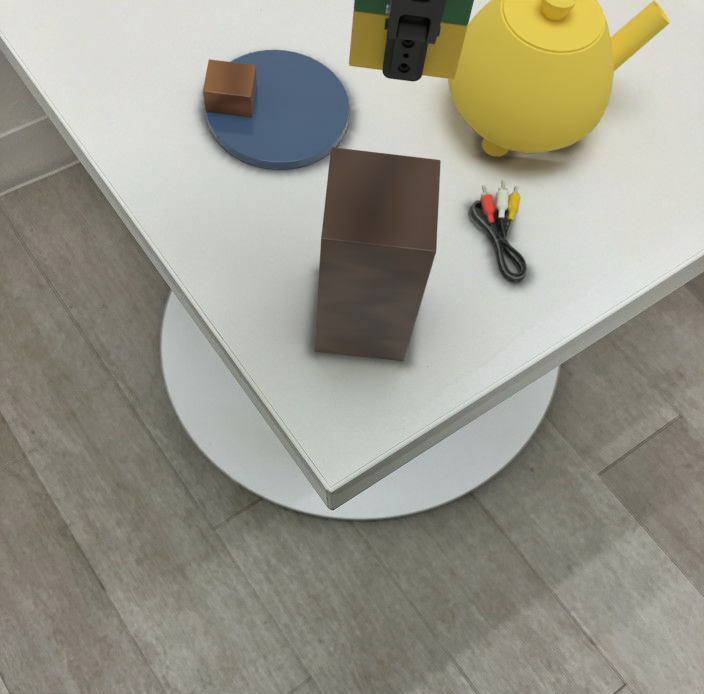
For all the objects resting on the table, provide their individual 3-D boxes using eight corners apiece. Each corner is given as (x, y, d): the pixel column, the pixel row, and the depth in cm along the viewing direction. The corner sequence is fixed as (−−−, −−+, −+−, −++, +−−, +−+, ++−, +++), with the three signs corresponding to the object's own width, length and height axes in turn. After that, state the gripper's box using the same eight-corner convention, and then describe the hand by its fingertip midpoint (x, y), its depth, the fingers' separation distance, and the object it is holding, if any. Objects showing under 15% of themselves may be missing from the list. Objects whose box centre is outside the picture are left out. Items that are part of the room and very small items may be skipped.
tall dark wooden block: (313, 351, 69) (320, 238, 54) (321, 273, 72) (331, 146, 57) (404, 361, 70) (436, 251, 55) (409, 283, 73) (440, 159, 58)
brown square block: (205, 111, 76) (202, 91, 74) (211, 79, 78) (208, 58, 75) (252, 117, 76) (250, 97, 74) (257, 85, 78) (256, 64, 76)
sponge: (348, 66, 44) (355, -16, 40) (354, 14, 46) (362, -72, 41) (454, 80, 45) (474, 0, 40) (457, 27, 46) (476, -56, 41)
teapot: (602, 43, 85) (658, -85, 72) (654, 159, 80) (724, 43, 67) (423, 65, 82) (448, -65, 69) (465, 187, 77) (502, 72, 64)
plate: (196, 160, 75) (194, 152, 75) (216, 49, 80) (215, 41, 79) (342, 177, 76) (343, 170, 75) (353, 66, 81) (354, 58, 80)
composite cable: (528, 283, 74) (536, 267, 71) (478, 284, 73) (484, 268, 71) (513, 195, 77) (520, 178, 75) (464, 196, 76) (470, 178, 74)
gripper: (380, -470, 31) (348, -53, 47) (349, -247, 26) (326, 135, 42) (567, -441, 32) (473, -36, 48) (571, -215, 27) (464, 152, 43)
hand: (404, 43), depth 45 cm, fingers closed on sponge, 4 cm apart
